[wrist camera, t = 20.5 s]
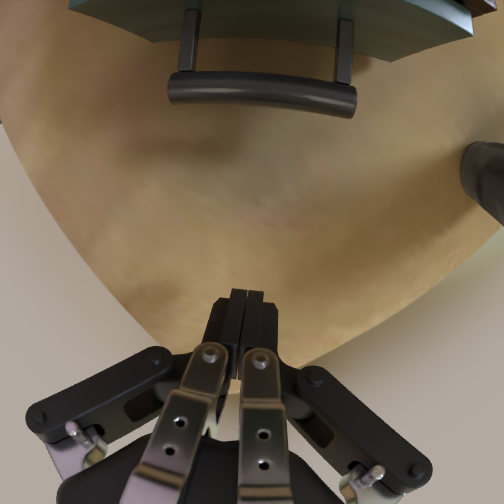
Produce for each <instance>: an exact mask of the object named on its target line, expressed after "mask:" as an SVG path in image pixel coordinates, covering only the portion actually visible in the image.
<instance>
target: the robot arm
mask: <svg viewBox="0 0 504 504" xmlns="http://www.w3.org/2000/svg"><path fill="white" fill-rule="evenodd" d="M247 291H248V290H244V289H235V288H232V291H231V295H230V299H229V298H221V297H220V298H219V299H218V300H217V301H216V302H215V303H214V304H213V307H212V310H211V314H210V317H209V320H208V323H207V327H206V330H205V333H204V336H203V340H202V343H201V344H200V345H198V346H197V347H196V348H195V349H194V351H193V352H190V353H187V354H177V355H172V354H171V352H170V351H169V350H168V349H166V348H164V347H161V346H152V347H149V348H146V349H145V350H142V351H141V352H139V353H137V354H135V355H133V356H131V357H129V358H127V359H125V360H123V361H121V362H119V363H117V364H115V365H113V366H111V367H109V368H107V369H105V370H104V371H101V372H100V373H97V374H95V375H93V376H92V377H89V378H87V379H86V380H83V381H81V382H79V383H77V384H75V385H73V386H71V387H69V388H67V389H65V390H62V391H61V392H58V393H56V394H54V395H52V396H50V397H48V398H45V399H43V400H41V401H39V402H37V403H34V404H33V405H32V406H30V407H29V408H28V410H27V413H26V423H27V426H28V428H29V429H30V430H31V431H32V432H33V433H35V434H36V435H37V436H38V437H39V438H40V439H41V440H42V441H43V442H44V444H45V446H46V448H47V450H48V452H49V454H50V457H51V459H52V461H53V463H54V465H55V467H56V469H57V471H58V473H59V475H60V477H61V479H62V480H63V482H62V484H61V485H60V487H59V488H58V491H57V497H56V503H57V504H344V503H343V502H342V500H341V499H340V498H339V497H338V496H337V495H336V494H335V493H334V492H333V491H332V490H331V489H330V488H329V487H328V486H327V485H326V484H325V483H324V482H323V481H322V480H321V478H320V477H319V476H318V475H317V474H316V473H315V472H314V471H313V470H312V469H311V467H310V466H309V465H308V464H307V463H306V462H305V461H304V460H303V459H302V458H301V457H299V456H298V455H296V454H294V453H293V452H291V451H289V450H288V436H287V422H286V418H287V420H288V421H289V422H290V423H291V424H292V425H293V426H294V428H295V429H296V430H297V431H298V432H299V433H300V434H301V435H302V436H303V437H304V438H305V439H306V440H307V442H308V443H309V444H310V445H311V446H312V447H313V448H314V449H315V450H316V451H317V452H318V453H319V454H320V455H321V456H322V457H323V458H324V459H325V460H326V461H327V462H328V463H329V464H330V465H331V466H332V467H333V468H334V469H335V470H336V471H337V472H338V473H339V474H340V475H341V476H342V478H341V480H340V482H339V490H340V492H341V494H342V495H343V496H344V498H345V500H346V504H397V503H398V502H399V501H400V499H401V498H402V497H403V496H404V495H405V494H407V493H410V492H411V491H413V490H416V489H418V488H420V487H422V486H424V485H425V484H426V483H427V482H428V481H429V480H430V478H431V476H432V471H433V468H432V464H431V462H430V460H429V459H428V458H427V457H426V456H424V455H423V454H422V453H421V452H420V451H418V450H417V449H416V448H415V447H414V446H412V445H411V444H410V443H409V442H408V441H406V440H405V439H404V438H403V437H402V436H400V435H399V434H398V433H397V432H395V430H393V429H392V428H391V427H390V426H389V425H388V424H386V423H385V422H384V421H383V420H382V419H381V418H380V417H378V416H377V415H376V414H375V413H374V412H372V410H370V409H369V408H368V407H367V406H366V405H365V404H364V403H362V402H361V401H360V400H359V399H358V398H357V397H356V396H354V395H353V394H352V393H351V392H350V391H349V390H348V389H347V388H346V387H344V385H342V384H341V383H340V382H339V381H338V380H337V379H336V378H335V377H333V375H331V374H330V373H329V372H328V371H327V370H325V369H324V368H322V367H319V366H307V367H304V368H303V369H301V370H299V369H296V368H293V367H290V366H288V365H286V364H285V363H284V362H283V361H282V360H281V359H280V358H279V356H278V352H277V346H278V310H277V308H276V306H275V304H274V303H267V302H263V296H264V291H254V290H249V291H248V297H247ZM238 364H239V365H238ZM237 371H238V380H241V389H240V406H239V429H238V440H236V441H225V442H223V441H218V440H217V434H218V428H219V424H220V420H221V416H222V413H223V409H224V406H225V402H226V399H227V395H228V390H229V387H230V381H231V379H236V377H237ZM159 415H160V416H159ZM158 416H159V418H158V421H157V423H156V425H155V427H154V430H153V432H152V433H150V434H147V435H144V436H142V437H140V438H138V439H136V440H135V441H133V442H132V443H130V444H128V445H127V446H125V447H123V448H122V449H120V450H118V451H117V452H115V453H113V454H112V455H110V456H108V457H106V458H105V459H103V458H104V457H105V455H106V453H107V445H108V444H110V443H112V442H114V441H115V440H117V439H119V438H121V437H123V436H125V435H127V434H128V433H130V432H132V431H134V430H135V429H137V428H139V427H141V426H142V425H144V424H146V423H147V422H149V421H151V420H153V419H154V418H156V417H158ZM102 459H103V460H102ZM100 460H101V461H100Z"/></svg>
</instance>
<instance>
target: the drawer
mask: <svg viewBox="0 0 504 504" xmlns="http://www.w3.org/2000/svg"><path fill="white" fill-rule="evenodd" d="M68 9H69V10H72V11H75V12H78V13H81V14H84V15H87V16H90V17H93V18H96V19H99V20H101V21H104V22H107V23H109V24H112V25H114V26H117V27H119V28H122V29H124V30H126V31H129V32H131V33H133V34H136V35H138V36H140V37H142V38H144V39H146V40H149V41H151V42H153V43H155V42H162V41H170V40H180V39H181V42H180V51H179V61H178V71H179V72H175V73H173V74H172V75H171V76H170V78H169V82H168V98H169V101H170V103H171V104H173V105H179V104H225V105H246V106H260V107H271V108H281V109H290V110H297V111H305V112H311V113H318V114H324V115H329V116H335V117H340V118H345V119H351V118H352V117H353V115H354V113H355V109H356V105H357V91H356V88H355V87H354V86H350V84H351V75H352V61H353V52H356V53H360V54H364V55H368V56H371V57H375V58H378V59H381V60H385V61H388V62H393V61H396V60H398V59H401V58H403V57H406V56H409V55H412V54H414V53H417V52H420V51H423V50H426V49H429V48H432V47H435V46H439V45H442V44H445V43H449V42H452V41H456V40H460V39H463V38H467V37H471V36H473V35H474V34H473V24H472V16H471V11H470V10H469V9H467V8H466V7H464V6H462V5H461V4H459V3H457V2H456V1H454V0H70V2H69V6H68ZM208 37H252V38H269V39H281V40H290V41H298V42H305V43H312V44H318V45H324V46H329V47H334V48H336V49H335V63H334V75H333V82H331V81H325V80H320V79H314V78H307V77H300V76H292V75H284V74H274V73H262V72H245V71H196V60H197V50H198V41H199V38H208Z"/></svg>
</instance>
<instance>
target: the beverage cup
mask: <svg viewBox="0 0 504 504" xmlns="http://www.w3.org/2000/svg"><path fill="white" fill-rule="evenodd" d="M461 181H462V185H463V188H464V189H465V191H466V193H467V194H468V195H469V196H470V197H471V198H472V199H474V200H475V201H476V202H477V203H478V204H479V205H480V206H481V207H482V208H483V209H484V210H486V211H487V212H488V213H489V214H490V215H491V216H493V217H494V218H495V219H496V220H497V221H498V222H499V223H501V224H502V225H503V226H504V144H502V143H491V142H489V143H486V142H475V143H473V144H471V145H470V146H469V148H468V149H467V150H466V152H465V154H464V156H463V158H462V164H461Z"/></svg>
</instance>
